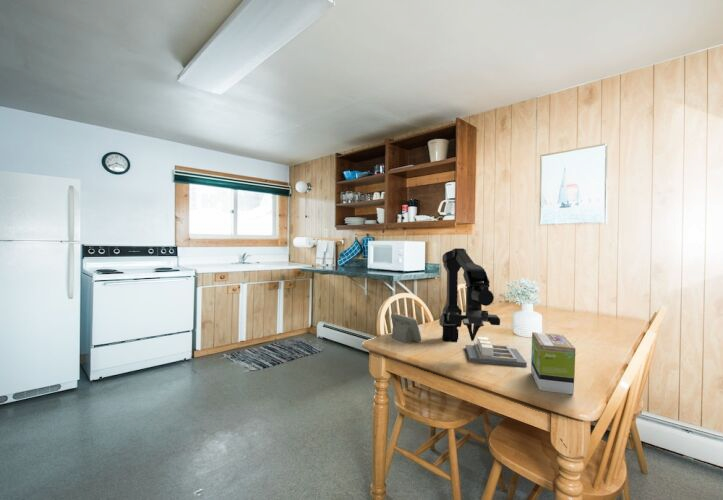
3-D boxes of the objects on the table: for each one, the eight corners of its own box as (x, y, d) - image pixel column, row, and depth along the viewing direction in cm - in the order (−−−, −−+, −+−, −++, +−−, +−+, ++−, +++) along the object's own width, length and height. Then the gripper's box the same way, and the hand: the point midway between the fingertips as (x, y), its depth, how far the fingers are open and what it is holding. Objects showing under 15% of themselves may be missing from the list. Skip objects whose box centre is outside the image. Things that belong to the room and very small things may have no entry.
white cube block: (480, 353, 137) (480, 343, 137) (478, 350, 140) (479, 340, 140) (490, 354, 136) (491, 343, 136) (489, 351, 139) (489, 341, 139)
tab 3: (481, 357, 132) (482, 347, 132) (480, 354, 135) (481, 344, 135) (493, 358, 131) (493, 348, 131) (491, 355, 135) (491, 345, 134)
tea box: (529, 372, 123) (531, 330, 122) (561, 376, 120) (563, 334, 119) (538, 390, 108) (540, 343, 108) (574, 395, 105) (577, 347, 105)
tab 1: (478, 349, 142) (478, 339, 141) (477, 346, 145) (477, 336, 145) (488, 349, 141) (489, 340, 141) (487, 347, 144) (487, 337, 144)
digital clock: (423, 342, 154) (423, 318, 153) (405, 345, 150) (406, 320, 149) (403, 333, 168) (404, 311, 168) (387, 334, 164) (387, 312, 164)
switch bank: (469, 361, 132) (470, 355, 131) (465, 348, 147) (465, 342, 147) (526, 366, 128) (526, 360, 128) (516, 352, 143) (516, 346, 143)
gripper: (449, 302, 127) (448, 345, 128) (504, 306, 124) (502, 349, 124) (448, 297, 138) (446, 336, 139) (498, 300, 135) (496, 340, 135)
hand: (472, 340), depth 134 cm, fingers closed
